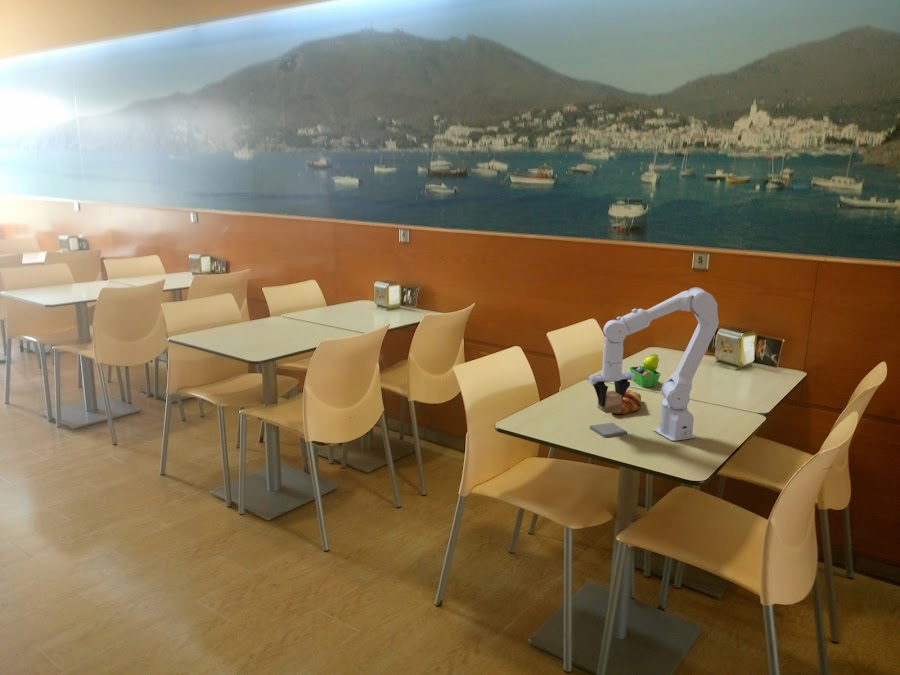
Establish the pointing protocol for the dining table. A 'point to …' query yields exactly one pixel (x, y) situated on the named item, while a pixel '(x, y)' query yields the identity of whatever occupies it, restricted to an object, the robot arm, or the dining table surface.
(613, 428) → the slate coaster
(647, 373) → the fruit basket
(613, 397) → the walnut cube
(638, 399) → the croissant
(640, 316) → the robot arm
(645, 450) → the dining table surface
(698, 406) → the dining table surface
